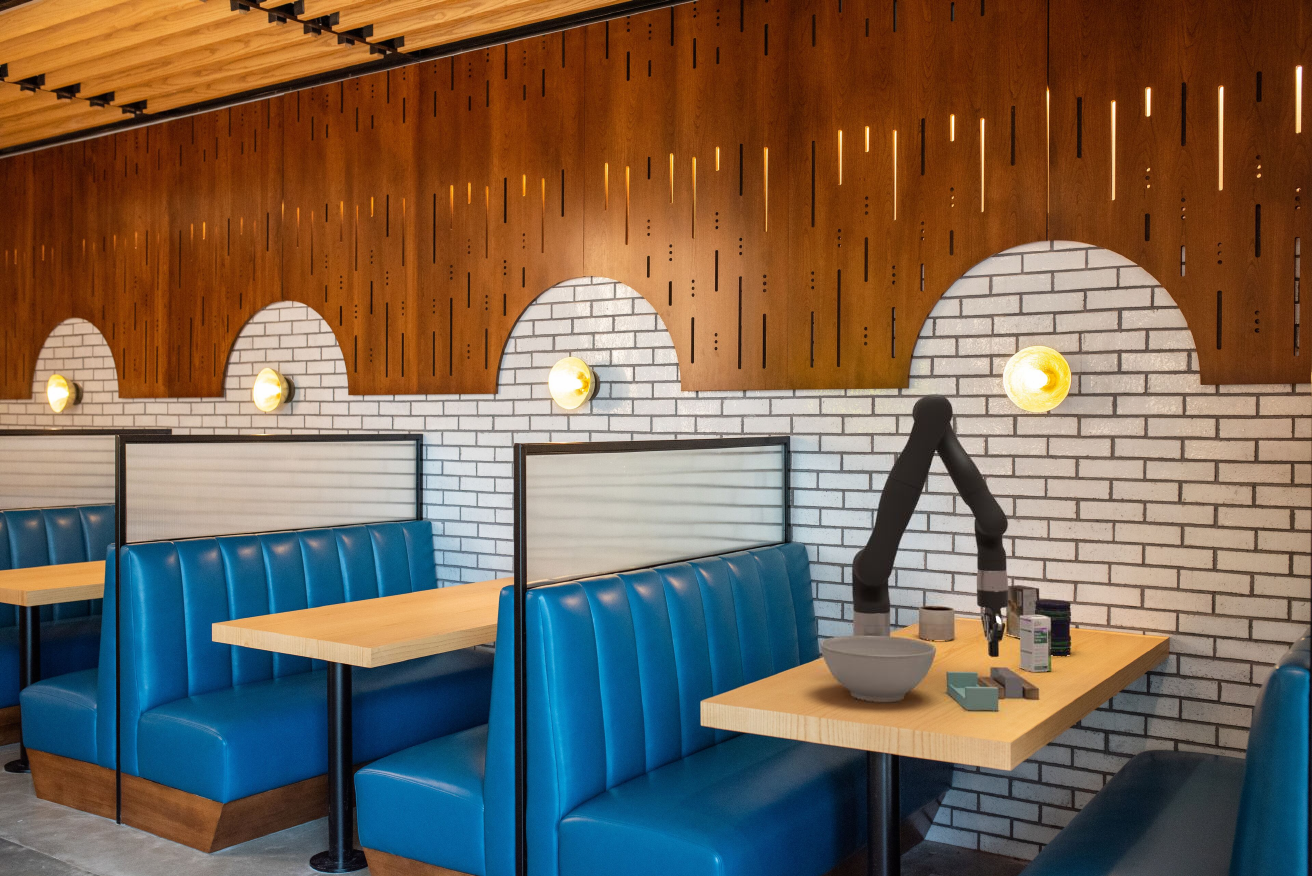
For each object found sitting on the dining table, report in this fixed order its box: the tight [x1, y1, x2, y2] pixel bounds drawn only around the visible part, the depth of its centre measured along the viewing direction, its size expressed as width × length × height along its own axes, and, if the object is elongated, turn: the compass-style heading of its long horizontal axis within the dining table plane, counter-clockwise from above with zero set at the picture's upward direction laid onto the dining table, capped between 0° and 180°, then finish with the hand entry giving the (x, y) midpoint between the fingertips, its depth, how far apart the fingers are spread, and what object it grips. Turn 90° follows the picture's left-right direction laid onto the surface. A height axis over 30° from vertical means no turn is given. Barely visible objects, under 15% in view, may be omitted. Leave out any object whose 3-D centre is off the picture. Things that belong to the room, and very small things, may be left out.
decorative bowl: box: [819, 635, 937, 703], centre depth 244 cm, size 27×27×12 cm
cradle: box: [946, 671, 999, 712], centre depth 239 cm, size 7×18×5 cm, turn 178°
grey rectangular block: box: [989, 666, 1024, 699], centre depth 249 cm, size 4×12×5 cm, turn 178°
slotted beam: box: [978, 676, 1040, 700], centre depth 248 cm, size 11×12×2 cm
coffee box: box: [1005, 584, 1040, 637], centre depth 326 cm, size 9×6×16 cm
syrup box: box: [1019, 615, 1052, 673], centre depth 275 cm, size 6×6×14 cm
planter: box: [918, 605, 956, 640], centre depth 323 cm, size 11×11×10 cm
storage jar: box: [1035, 599, 1072, 656], centre depth 299 cm, size 10×10×15 cm
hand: (993, 656), depth 260 cm, fingers closed
